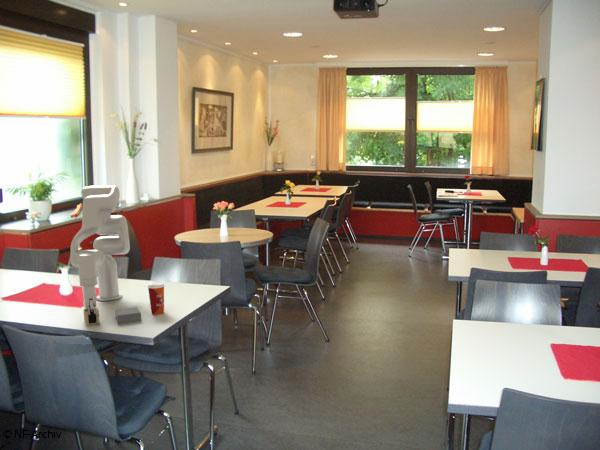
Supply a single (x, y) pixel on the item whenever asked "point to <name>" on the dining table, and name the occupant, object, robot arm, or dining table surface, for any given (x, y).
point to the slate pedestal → (127, 315)
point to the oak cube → (88, 314)
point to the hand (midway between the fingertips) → (92, 320)
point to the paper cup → (156, 297)
